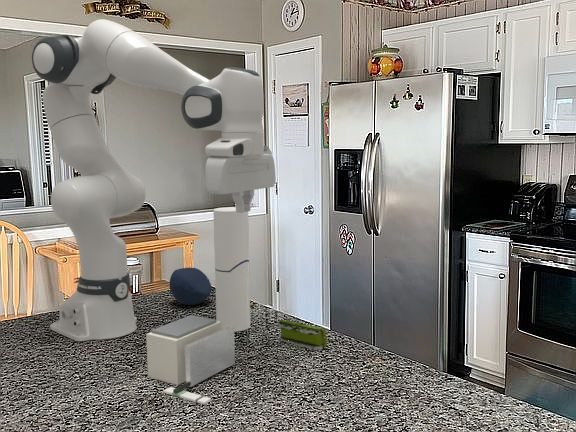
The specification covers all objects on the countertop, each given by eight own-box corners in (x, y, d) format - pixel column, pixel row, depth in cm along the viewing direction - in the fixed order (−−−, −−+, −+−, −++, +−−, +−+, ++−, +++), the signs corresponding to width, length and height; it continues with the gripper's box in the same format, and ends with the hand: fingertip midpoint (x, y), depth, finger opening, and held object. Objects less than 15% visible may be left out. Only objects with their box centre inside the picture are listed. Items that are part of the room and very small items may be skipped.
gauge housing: (133, 383, 121) (131, 336, 120) (193, 355, 136) (192, 313, 135) (204, 404, 112) (202, 353, 110) (260, 371, 127) (259, 326, 125)
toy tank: (313, 332, 135) (337, 312, 142) (248, 318, 146) (273, 300, 153) (317, 361, 137) (341, 339, 144) (253, 344, 148) (278, 325, 156)
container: (257, 324, 158) (255, 208, 154) (236, 333, 151) (234, 212, 146) (230, 319, 162) (227, 206, 158) (209, 328, 155) (206, 210, 151)
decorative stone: (163, 309, 172) (162, 274, 171) (178, 297, 184) (177, 265, 182) (204, 310, 170) (203, 275, 169) (216, 299, 182) (215, 266, 181)
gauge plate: (133, 382, 121) (131, 343, 120) (194, 353, 136) (193, 318, 135) (175, 394, 115) (174, 353, 114) (234, 363, 130) (234, 327, 129)
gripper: (259, 145, 139) (259, 205, 141) (199, 147, 122) (200, 216, 124) (282, 145, 136) (282, 207, 138) (224, 148, 119) (225, 218, 121)
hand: (243, 211), depth 131 cm, fingers closed
